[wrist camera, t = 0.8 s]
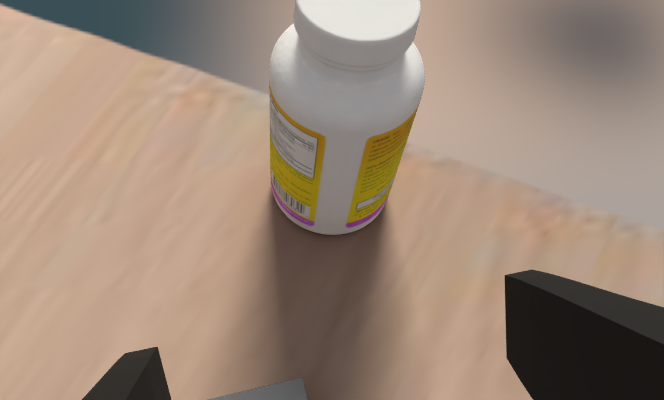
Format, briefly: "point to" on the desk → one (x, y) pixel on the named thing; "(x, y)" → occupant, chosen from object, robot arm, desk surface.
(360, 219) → the supplement bottle
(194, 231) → the desk surface
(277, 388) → the console
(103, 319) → the desk surface
